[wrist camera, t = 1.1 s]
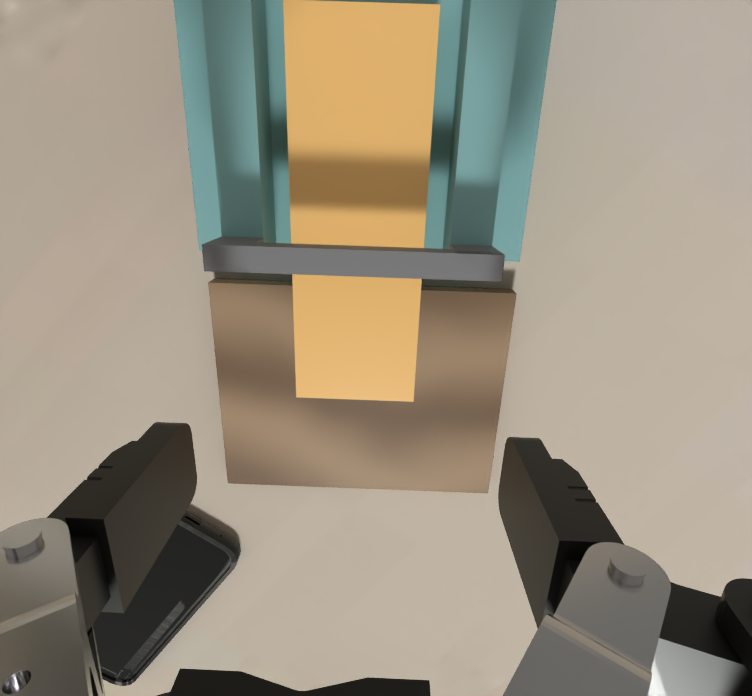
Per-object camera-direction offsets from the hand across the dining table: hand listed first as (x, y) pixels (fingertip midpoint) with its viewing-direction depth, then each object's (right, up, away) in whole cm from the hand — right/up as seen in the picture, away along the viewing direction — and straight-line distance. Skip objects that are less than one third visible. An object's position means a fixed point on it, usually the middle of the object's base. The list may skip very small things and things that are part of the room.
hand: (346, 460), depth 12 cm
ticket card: (0, +7, +5) cm, 9 cm away
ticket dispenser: (0, +12, +8) cm, 15 cm away
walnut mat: (0, +1, +12) cm, 12 cm away
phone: (-14, -12, +18) cm, 26 cm away
